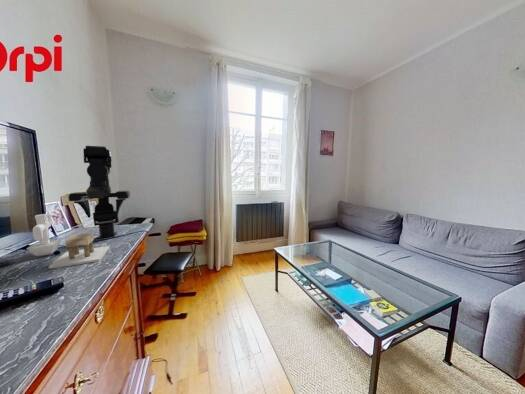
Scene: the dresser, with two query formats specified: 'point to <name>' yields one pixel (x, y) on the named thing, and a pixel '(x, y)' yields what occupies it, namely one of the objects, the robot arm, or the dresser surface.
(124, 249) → the dresser surface
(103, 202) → the robot arm
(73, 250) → the tan pegged block
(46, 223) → the figurine
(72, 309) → the dresser surface
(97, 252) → the mat
